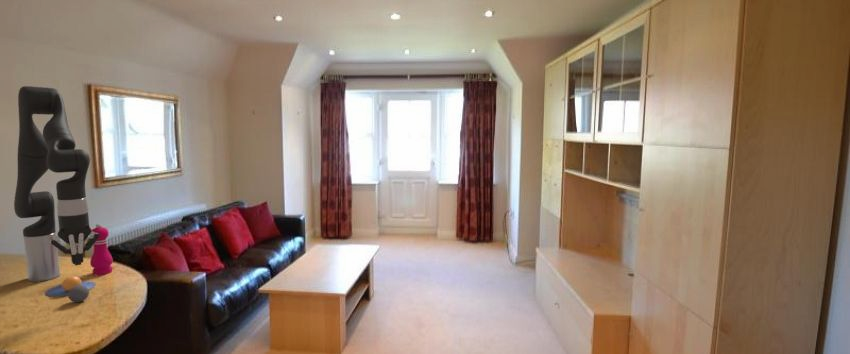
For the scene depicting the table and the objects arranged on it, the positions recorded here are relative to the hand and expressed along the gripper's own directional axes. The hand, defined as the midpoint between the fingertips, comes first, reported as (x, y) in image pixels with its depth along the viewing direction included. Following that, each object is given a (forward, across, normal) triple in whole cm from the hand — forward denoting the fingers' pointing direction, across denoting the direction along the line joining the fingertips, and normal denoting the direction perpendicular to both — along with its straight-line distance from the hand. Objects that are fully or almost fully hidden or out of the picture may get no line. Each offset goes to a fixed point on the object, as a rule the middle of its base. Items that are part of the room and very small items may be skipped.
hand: (77, 264), depth 141 cm
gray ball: (+12, 0, -5) cm, 13 cm away
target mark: (+15, 0, -21) cm, 25 cm away
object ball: (+12, 0, -18) cm, 21 cm away
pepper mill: (+15, -12, -33) cm, 38 cm away
